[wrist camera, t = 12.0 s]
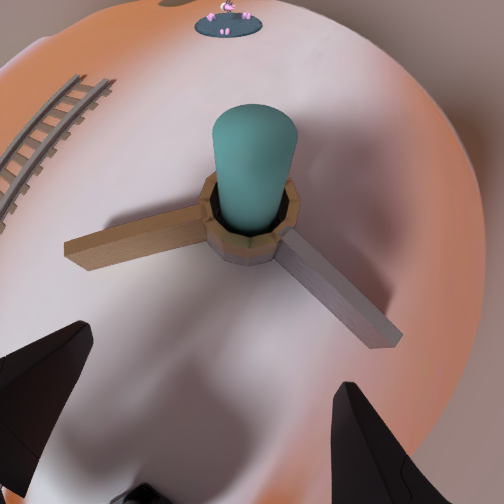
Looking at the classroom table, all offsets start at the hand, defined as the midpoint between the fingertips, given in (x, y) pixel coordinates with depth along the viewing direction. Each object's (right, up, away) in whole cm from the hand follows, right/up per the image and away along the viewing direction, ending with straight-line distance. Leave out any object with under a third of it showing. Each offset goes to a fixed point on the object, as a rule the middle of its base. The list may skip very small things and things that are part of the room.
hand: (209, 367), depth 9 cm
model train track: (-29, +16, +19) cm, 38 cm away
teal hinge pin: (+1, +6, +17) cm, 18 cm away
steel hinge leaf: (+5, +2, +15) cm, 16 cm away
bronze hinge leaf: (-4, +4, +16) cm, 17 cm away
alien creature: (-3, +44, +30) cm, 53 cm away
